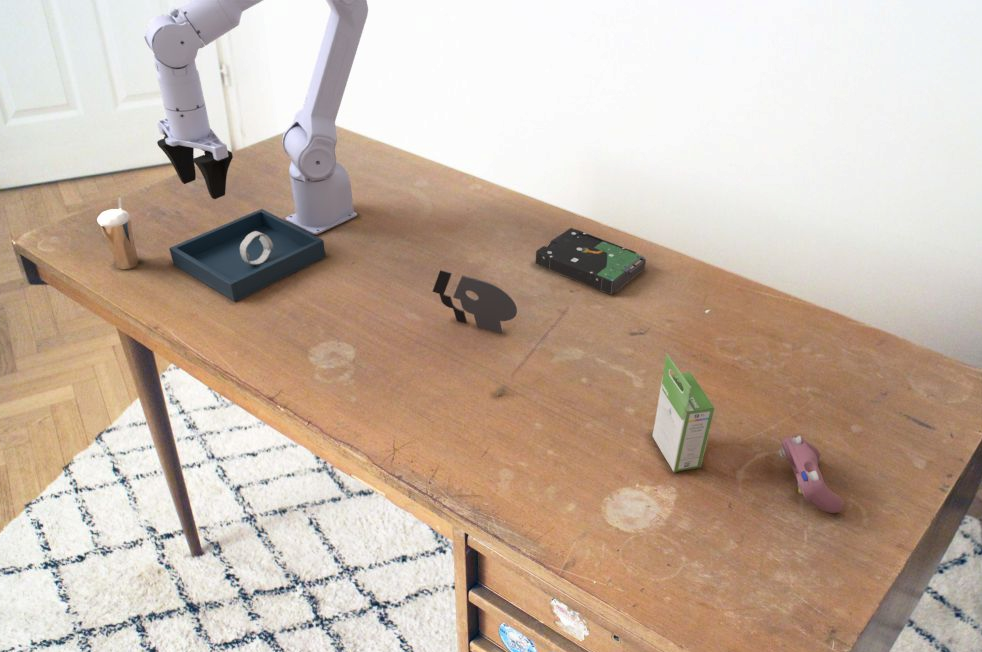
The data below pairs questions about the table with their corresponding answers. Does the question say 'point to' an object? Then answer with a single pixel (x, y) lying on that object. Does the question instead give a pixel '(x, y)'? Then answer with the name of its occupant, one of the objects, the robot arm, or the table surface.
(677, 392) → the ink box
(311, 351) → the table surface
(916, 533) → the table surface
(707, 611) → the table surface
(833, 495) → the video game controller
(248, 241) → the wristwatch
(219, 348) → the table surface
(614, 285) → the disk drive
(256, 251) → the tray
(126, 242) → the milkshake
